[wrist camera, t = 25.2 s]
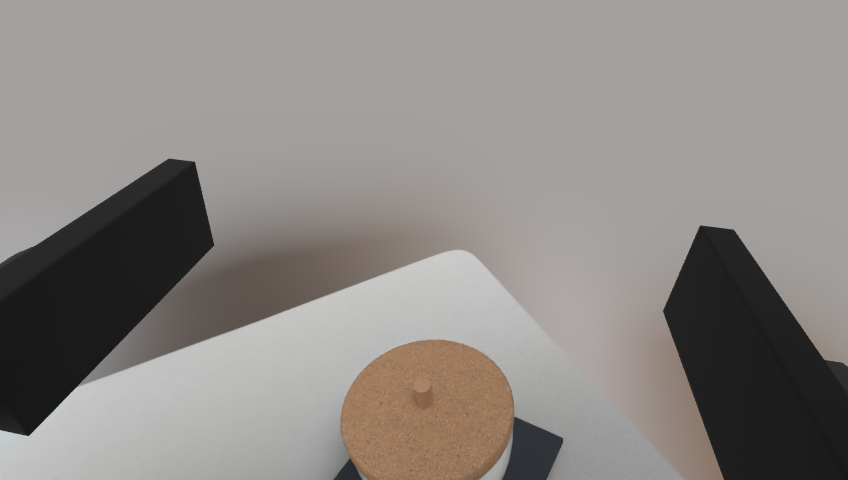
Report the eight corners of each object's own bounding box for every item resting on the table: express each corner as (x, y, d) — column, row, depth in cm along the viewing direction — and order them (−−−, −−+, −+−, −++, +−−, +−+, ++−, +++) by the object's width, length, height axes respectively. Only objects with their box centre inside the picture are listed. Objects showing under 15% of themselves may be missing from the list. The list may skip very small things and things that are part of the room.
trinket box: (389, 400, 40) (365, 317, 34) (521, 414, 37) (518, 326, 32) (343, 539, 31) (303, 457, 26) (511, 570, 28) (505, 486, 23)
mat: (563, 441, 35) (563, 437, 35) (479, 630, 27) (478, 626, 26) (417, 377, 42) (416, 373, 42) (313, 511, 33) (311, 507, 33)
